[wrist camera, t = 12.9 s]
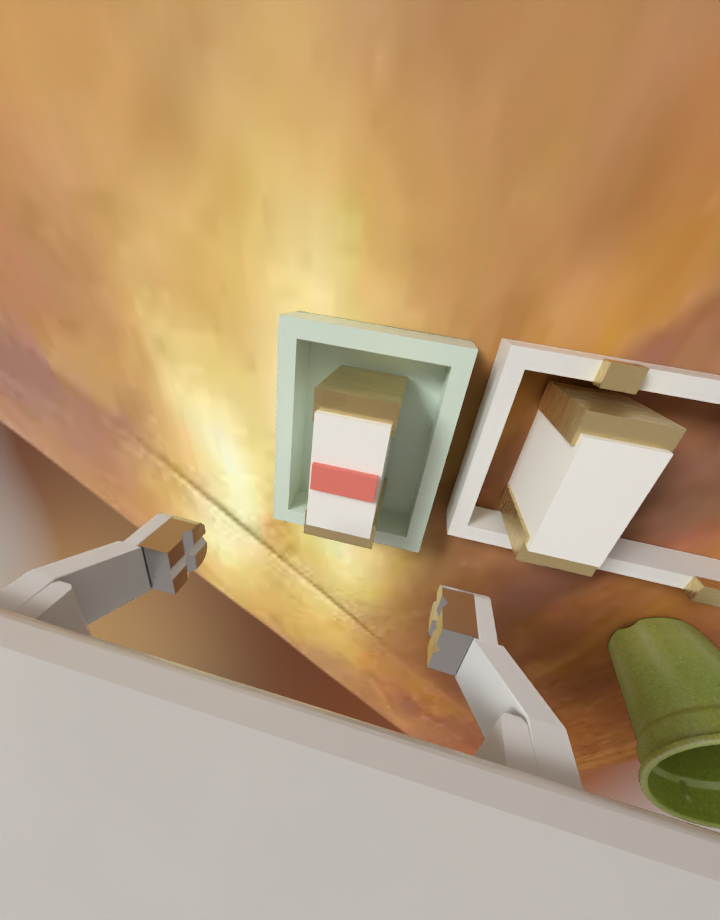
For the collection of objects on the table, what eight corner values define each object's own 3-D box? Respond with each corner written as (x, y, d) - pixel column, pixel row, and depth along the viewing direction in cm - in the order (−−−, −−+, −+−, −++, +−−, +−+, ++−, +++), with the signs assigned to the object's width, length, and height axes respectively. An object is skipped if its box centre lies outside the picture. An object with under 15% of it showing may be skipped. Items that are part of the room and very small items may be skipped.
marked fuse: (408, 375, 20) (399, 409, 14) (384, 494, 24) (369, 557, 18) (343, 363, 20) (309, 391, 15) (329, 482, 24) (299, 541, 19)
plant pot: (590, 596, 25) (658, 731, 17) (749, 600, 23) (908, 757, 15) (576, 676, 29) (628, 814, 21) (711, 686, 27) (822, 845, 19)
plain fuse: (619, 391, 19) (693, 433, 13) (556, 514, 23) (594, 582, 17) (546, 378, 19) (590, 413, 14) (497, 501, 23) (516, 564, 18)
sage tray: (472, 340, 19) (478, 349, 16) (419, 524, 25) (418, 552, 22) (299, 310, 20) (278, 314, 17) (289, 494, 26) (273, 518, 23)
